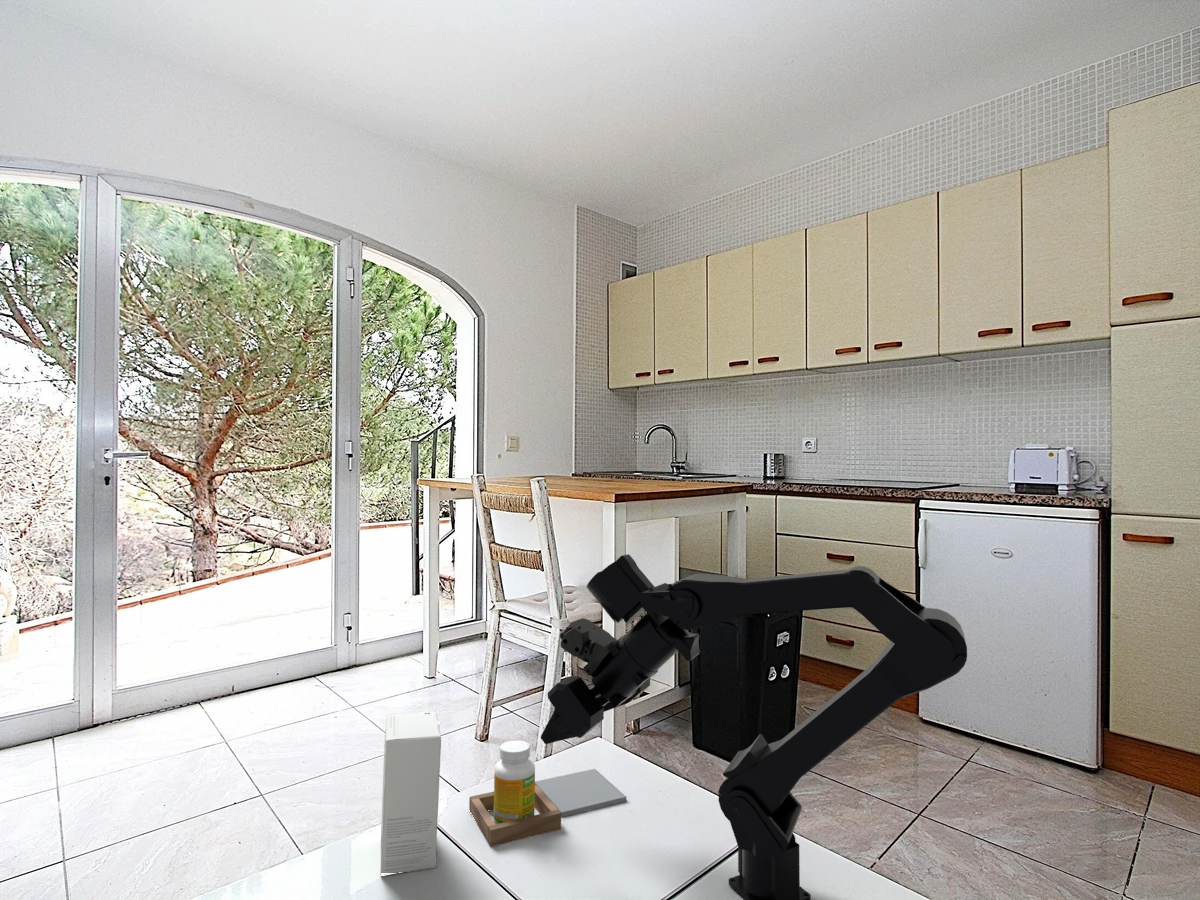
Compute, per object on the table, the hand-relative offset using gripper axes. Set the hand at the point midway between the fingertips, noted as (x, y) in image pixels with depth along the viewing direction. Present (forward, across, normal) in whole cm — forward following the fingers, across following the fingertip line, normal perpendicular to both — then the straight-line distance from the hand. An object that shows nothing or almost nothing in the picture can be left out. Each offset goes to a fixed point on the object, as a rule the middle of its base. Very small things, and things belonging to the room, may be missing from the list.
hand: (562, 727), depth 84 cm
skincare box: (+19, +12, 0) cm, 23 cm away
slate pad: (+12, -11, +7) cm, 17 cm away
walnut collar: (+14, 0, +4) cm, 15 cm away
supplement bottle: (+15, 0, +4) cm, 15 cm away
